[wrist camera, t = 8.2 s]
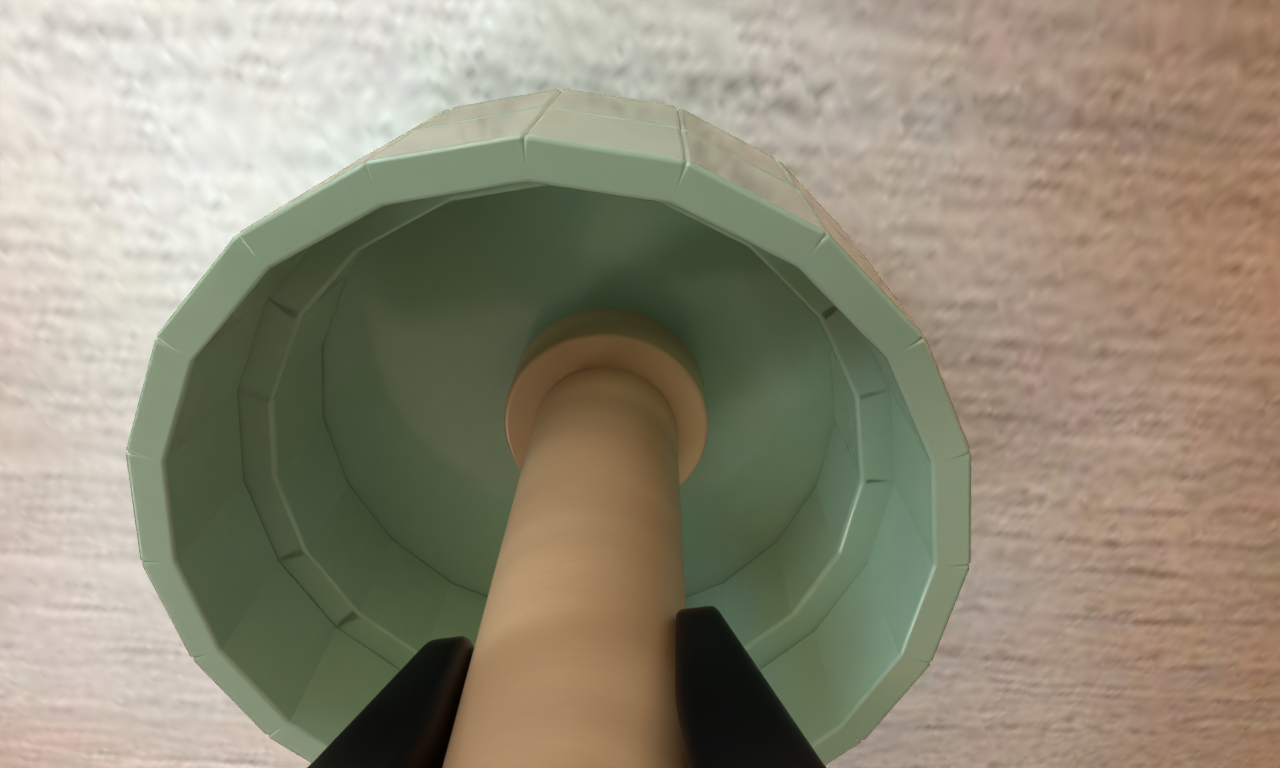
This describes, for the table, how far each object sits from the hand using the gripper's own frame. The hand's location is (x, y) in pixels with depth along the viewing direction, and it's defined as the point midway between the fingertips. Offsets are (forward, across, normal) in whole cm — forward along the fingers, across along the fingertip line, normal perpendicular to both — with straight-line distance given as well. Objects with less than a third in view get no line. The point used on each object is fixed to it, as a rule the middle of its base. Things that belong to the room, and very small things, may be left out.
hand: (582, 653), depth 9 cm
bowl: (+7, +1, +1) cm, 7 cm away
